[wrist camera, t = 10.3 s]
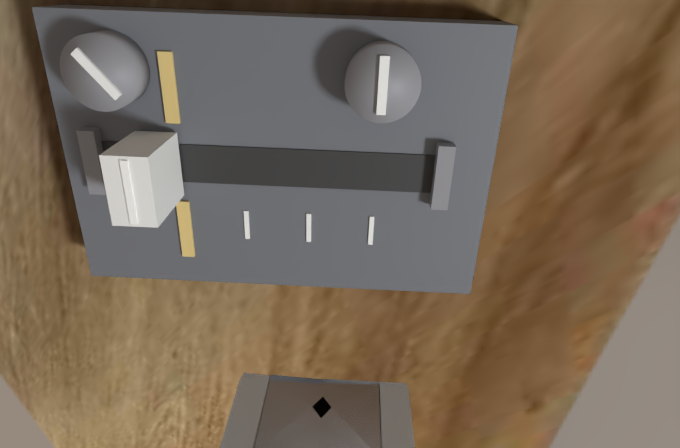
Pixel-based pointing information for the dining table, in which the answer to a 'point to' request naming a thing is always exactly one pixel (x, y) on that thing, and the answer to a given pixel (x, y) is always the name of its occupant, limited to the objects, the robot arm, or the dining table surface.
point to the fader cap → (142, 178)
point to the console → (286, 140)
